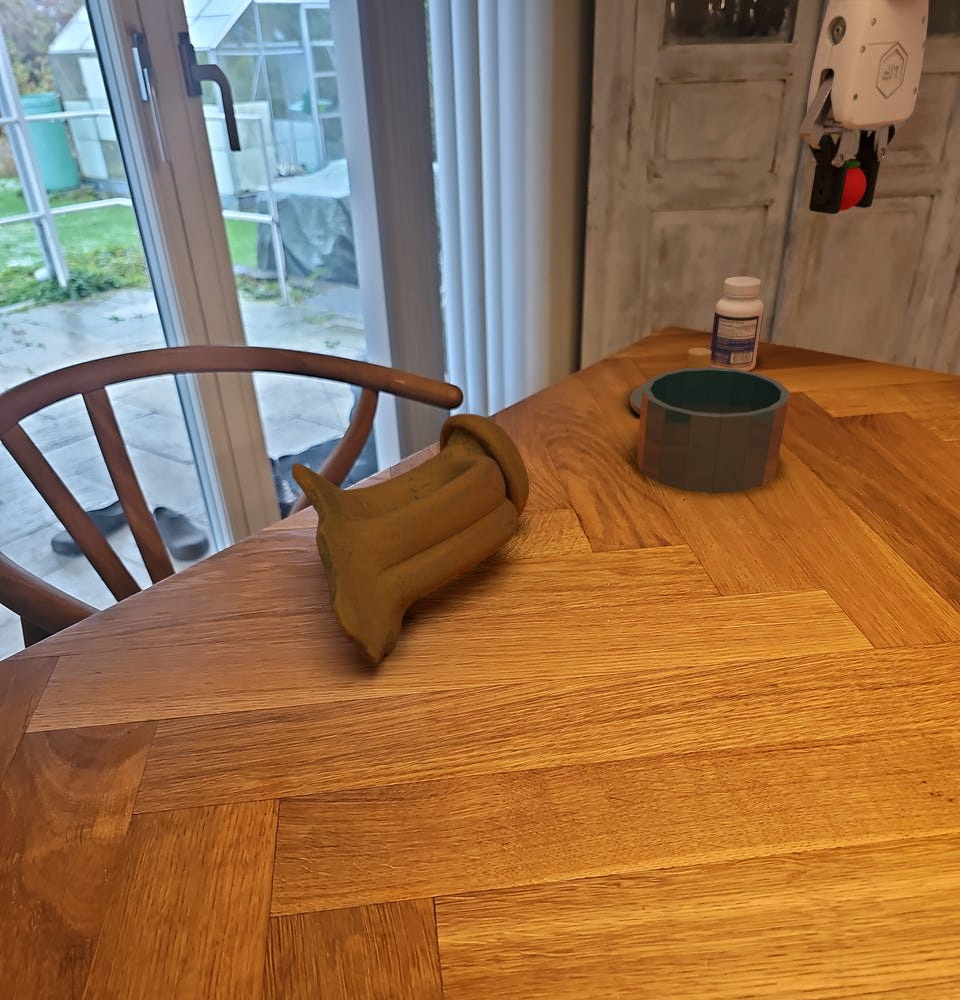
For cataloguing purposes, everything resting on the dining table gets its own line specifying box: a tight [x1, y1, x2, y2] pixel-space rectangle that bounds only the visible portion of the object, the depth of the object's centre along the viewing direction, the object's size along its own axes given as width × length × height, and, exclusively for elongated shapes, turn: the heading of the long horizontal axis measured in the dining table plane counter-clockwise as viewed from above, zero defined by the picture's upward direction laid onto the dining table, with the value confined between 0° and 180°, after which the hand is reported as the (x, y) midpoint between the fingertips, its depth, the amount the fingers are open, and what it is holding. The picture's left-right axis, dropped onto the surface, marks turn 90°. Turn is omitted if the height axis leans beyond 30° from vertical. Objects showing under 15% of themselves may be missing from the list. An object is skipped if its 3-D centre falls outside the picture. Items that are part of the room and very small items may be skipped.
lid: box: [629, 347, 712, 415], centre depth 92 cm, size 13×13×6 cm
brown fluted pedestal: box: [291, 413, 530, 664], centre depth 63 cm, size 18×13×22 cm
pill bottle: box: [710, 276, 765, 372], centre depth 102 cm, size 5×5×10 cm
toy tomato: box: [839, 159, 866, 212], centre depth 84 cm, size 4×4×4 cm
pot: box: [636, 366, 790, 494], centre depth 79 cm, size 12×12×8 cm
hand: (840, 206), depth 85 cm, fingers closed on toy tomato, 3 cm apart
